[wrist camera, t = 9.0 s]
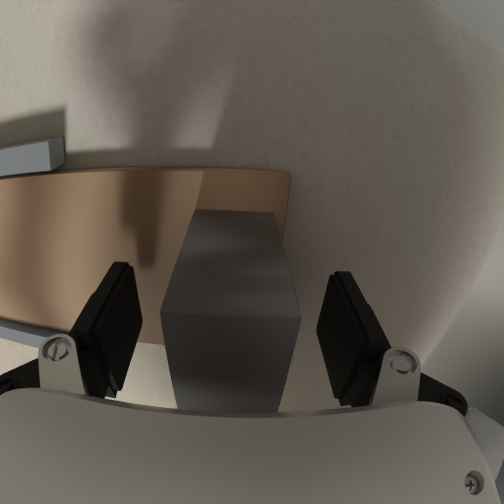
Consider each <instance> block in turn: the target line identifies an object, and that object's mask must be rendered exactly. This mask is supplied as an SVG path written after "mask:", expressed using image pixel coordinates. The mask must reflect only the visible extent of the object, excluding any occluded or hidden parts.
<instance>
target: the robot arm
mask: <svg viewBox="0 0 504 504" xmlns="http://www.w3.org/2000/svg"><path fill="white" fill-rule="evenodd" d="M142 324H143V318H142V313H141V308H140V302H139V297H138V291H137V285H136V279H135V272H134V267H133V266H130V264H129V263H128V262H120V261H114V262H113V264H112V265H111V267H110V268H109V270H108V272H107V273H106V275H105V276H104V278H103V280H102V281H101V283H100V284H99V286H98V288H97V289H96V291H95V292H94V293H92V295H91V296H90V298H89V299H88V301H87V303H86V304H85V306H84V308H83V309H82V311H81V313H80V315H79V316H78V318H77V320H76V322H75V323H74V325H73V327H72V329H71V330H70V332H69V334H68V335H66V334H55V335H53V336H50V337H48V338H47V339H45V340H44V341H43V342H42V343H41V345H40V347H39V351H38V358H37V359H35V360H32V361H30V362H28V363H26V364H24V365H21V366H19V367H17V368H15V369H13V370H11V371H8V372H6V373H4V374H2V375H0V504H501V502H500V499H499V495H498V492H497V489H496V486H495V480H496V478H497V475H498V472H499V470H500V467H501V464H502V462H503V459H504V428H503V427H502V426H501V425H499V424H498V423H496V422H495V421H493V420H491V419H490V418H488V417H487V416H485V415H484V414H482V413H481V412H479V411H477V410H476V409H474V408H473V407H472V408H471V409H468V405H467V402H466V400H465V398H464V397H463V396H462V395H461V393H459V392H458V391H456V390H454V389H452V388H450V387H448V386H446V385H444V384H442V383H440V382H439V381H437V380H434V379H433V378H431V377H429V376H427V375H425V374H423V373H421V363H420V361H419V359H418V357H417V356H416V355H415V354H414V353H413V352H411V351H410V350H408V349H405V348H401V347H393V348H391V346H390V344H389V342H388V340H387V338H386V336H385V334H384V332H383V330H382V328H381V326H380V324H379V322H378V320H377V318H376V316H375V314H374V312H373V310H372V308H371V307H370V305H369V304H367V302H366V300H365V298H364V296H363V295H362V293H361V291H360V289H359V287H358V285H357V283H356V282H355V280H354V278H353V276H352V274H351V273H350V272H346V271H336V272H335V273H334V275H330V277H329V281H328V285H327V289H326V293H325V297H324V301H323V305H322V309H321V312H320V316H319V320H318V323H317V336H318V340H319V343H320V347H321V350H322V354H323V357H324V361H325V365H326V368H327V372H328V376H329V380H330V383H331V387H332V391H333V395H334V397H335V398H336V399H339V402H340V406H346V405H351V408H341V409H330V410H318V411H303V412H277V413H236V412H211V411H195V410H183V409H172V408H163V407H155V406H147V405H140V404H133V403H126V402H120V401H115V400H109V399H104V398H105V396H107V397H112V398H116V394H117V391H121V390H122V388H123V384H124V381H125V378H126V374H127V371H128V368H129V365H130V362H131V359H132V355H133V352H134V349H135V346H136V343H137V340H138V337H139V334H140V331H141V328H142Z"/></svg>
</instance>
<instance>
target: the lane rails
mask: <svg viewBox="0 0 504 504" xmlns="http://www.w3.org/2000/svg"><path fill="white" fill-rule="evenodd" d="M64 163H65V157H64V142H63V136H62V137H55V138H48V139H42V140H36V141H30V142H24V143H19V144H14V145H9V146H4V147H0V176H4V175H12V174H20V173H29V172H39V171H50V170H52V169H54V168H56V167H58V166H60V165H62V164H64ZM55 334H66V335H68V334H69V332H65V331H60V330H55V329H49V328H44V327H39V326H35V325H30V324H25V323H21V322H17V321H12V320H8V319H4V318H0V338H4V339H7V340H11V341H14V342H18V343H21V344H25V345H29V346H33V347H37V348H39V347H40V345H41V343H42V342H43V341H44V340H45V339H47V338H48V337H50V336H53V335H55Z"/></svg>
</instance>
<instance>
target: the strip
mask: <svg viewBox="0 0 504 504" xmlns="http://www.w3.org/2000/svg"><path fill="white" fill-rule="evenodd" d="M290 180H291V175H290V174H289V172H280V171H266V170H251V169H232V168H206V167H119V168H95V169H77V170H63V171H50V172H39V173H30V174H20V175H12V176H4V177H0V318H4V319H8V320H12V321H17V322H21V323H25V324H30V325H35V326H39V327H44V328H49V329H55V330H60V331H65V332H70V330H71V329H72V327H73V325H74V323H75V322H76V320H77V318H78V316H79V315H80V313H81V311H82V309H83V308H84V306H85V304H86V303H87V301H88V299H89V298H90V296H91V295H92V293H94V292H95V291H96V289H97V288H98V286H99V284H100V283H101V281H102V280H103V278H104V276H105V275H106V273H107V272H108V270H109V268H110V267H111V265H112V264H113V262H114V261H120V262H128V263H129V264H130V266H133V267H134V272H135V279H136V285H137V291H138V297H139V302H140V308H141V313H142V318H143V324H142V328H141V331H140V334H139V337H138V340H137V342H142V343H151V344H162V345H165V348H166V354H167V359H168V365H169V370H170V375H171V380H172V385H173V389H174V394H175V399H176V403H177V407H178V409H183V410H195V411H211V412H236V413H277V412H278V408H279V405H280V401H281V397H282V394H283V390H284V386H285V383H286V379H287V375H288V371H289V367H290V363H291V359H292V355H293V351H294V347H295V343H296V339H297V334H298V330H299V326H300V322H301V314H300V310H299V306H298V302H297V298H296V294H295V291H294V287H293V283H292V279H291V275H290V271H289V268H288V264H287V260H286V256H285V252H284V249H283V245H282V244H283V237H284V229H285V221H286V213H287V205H288V197H289V189H290Z"/></svg>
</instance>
